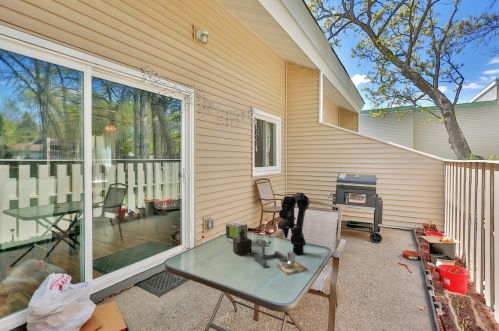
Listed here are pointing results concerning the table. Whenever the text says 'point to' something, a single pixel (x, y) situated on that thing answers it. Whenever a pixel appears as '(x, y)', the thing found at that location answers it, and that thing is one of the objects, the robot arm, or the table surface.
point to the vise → (262, 259)
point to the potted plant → (242, 244)
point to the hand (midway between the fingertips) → (290, 240)
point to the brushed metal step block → (289, 261)
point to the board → (292, 268)
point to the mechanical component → (263, 245)
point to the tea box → (234, 230)
